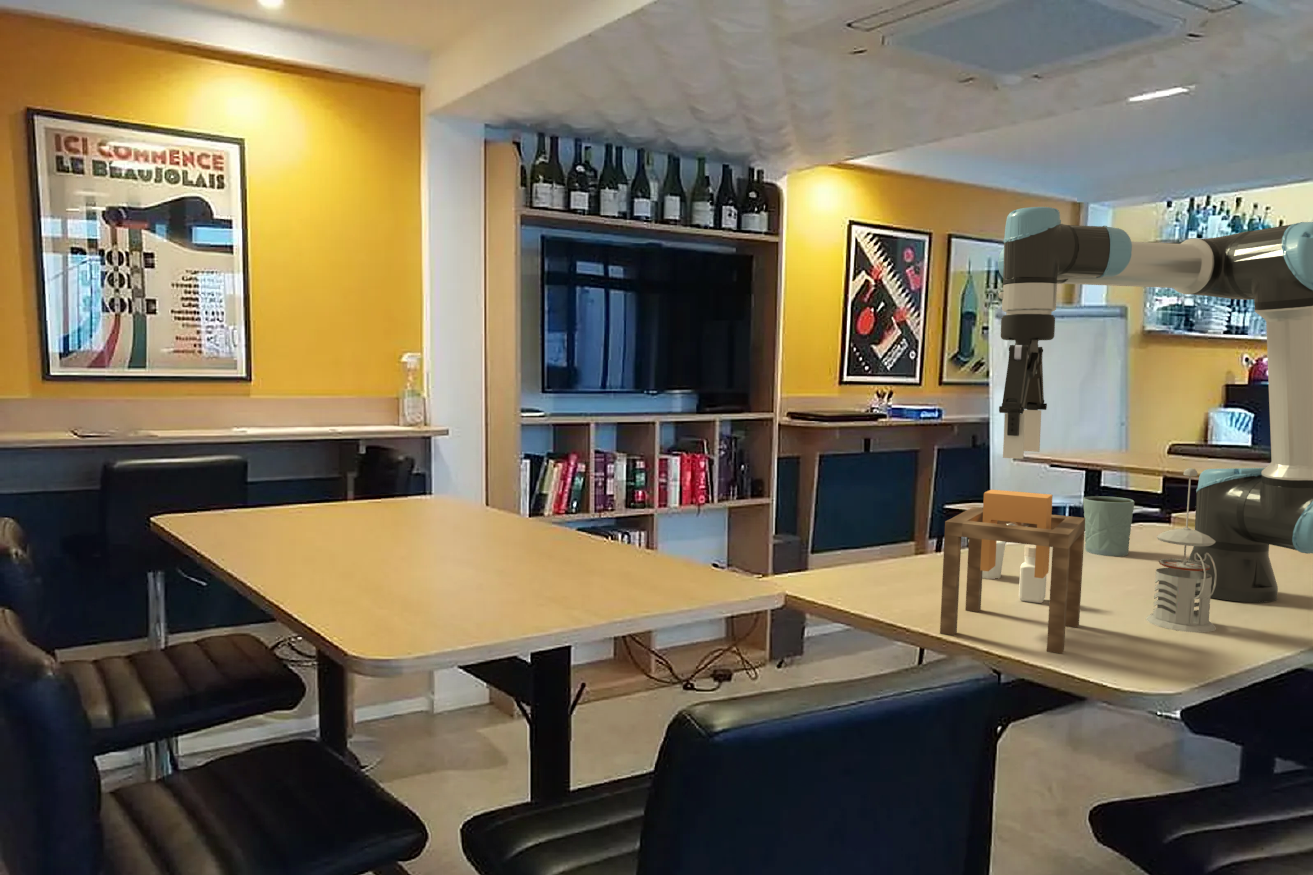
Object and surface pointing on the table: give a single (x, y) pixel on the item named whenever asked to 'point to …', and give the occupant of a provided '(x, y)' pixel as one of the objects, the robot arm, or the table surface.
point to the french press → (1184, 582)
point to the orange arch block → (1017, 510)
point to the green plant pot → (1107, 525)
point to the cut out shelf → (1061, 537)
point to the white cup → (996, 562)
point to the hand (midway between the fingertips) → (1021, 454)
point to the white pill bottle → (1031, 579)
